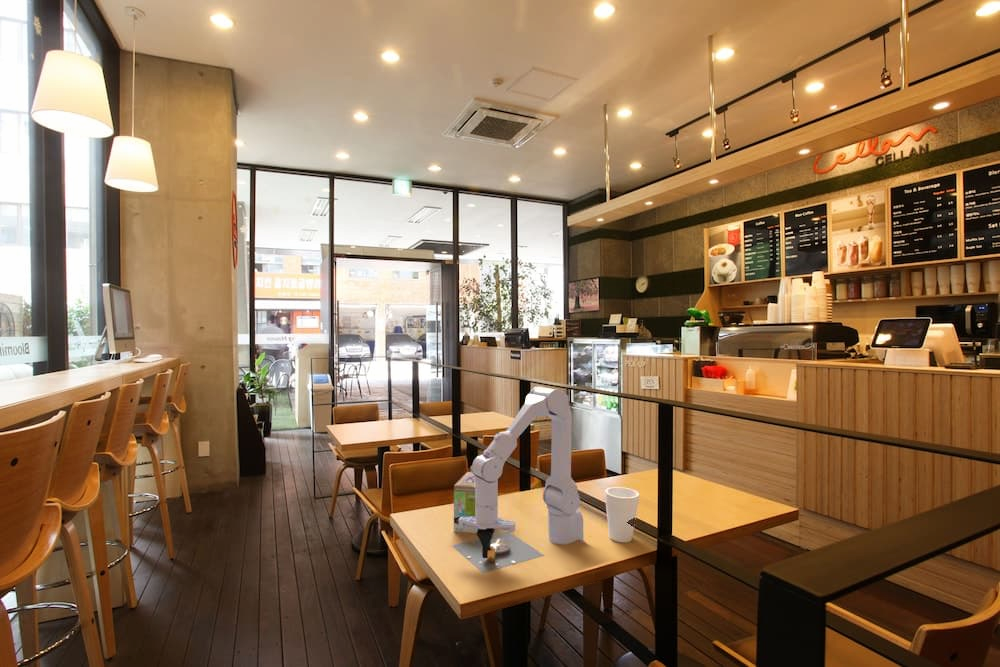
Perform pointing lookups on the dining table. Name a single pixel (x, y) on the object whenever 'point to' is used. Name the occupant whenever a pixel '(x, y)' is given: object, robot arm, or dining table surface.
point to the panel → (515, 555)
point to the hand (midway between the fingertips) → (486, 556)
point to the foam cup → (621, 512)
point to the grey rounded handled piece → (497, 548)
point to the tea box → (464, 502)
